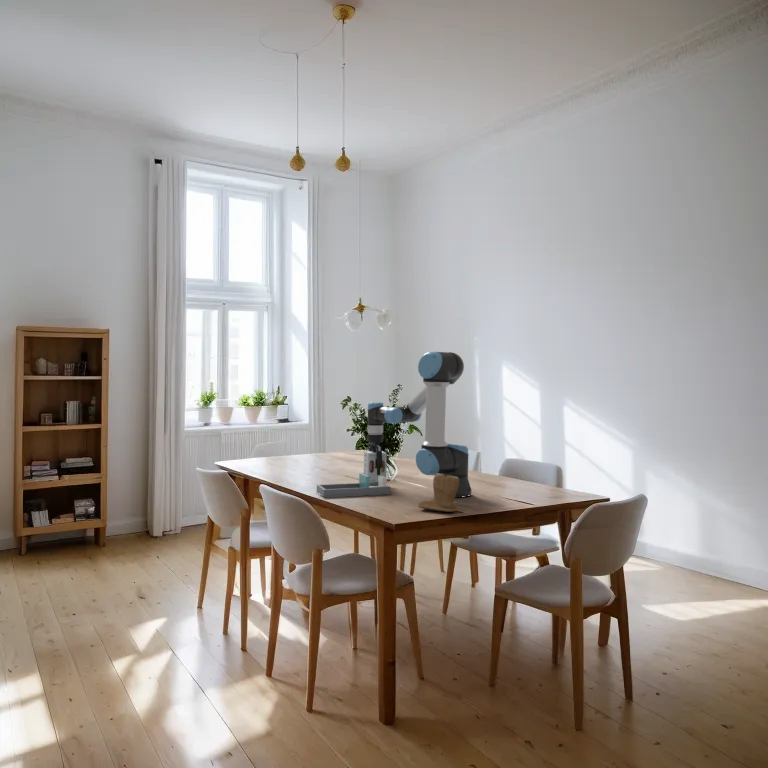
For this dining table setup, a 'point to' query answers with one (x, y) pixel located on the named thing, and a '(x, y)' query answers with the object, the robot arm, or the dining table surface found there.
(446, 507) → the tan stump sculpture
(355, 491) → the grey tray
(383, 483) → the pusher
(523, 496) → the dining table surface
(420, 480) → the dining table surface
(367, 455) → the supplement box
